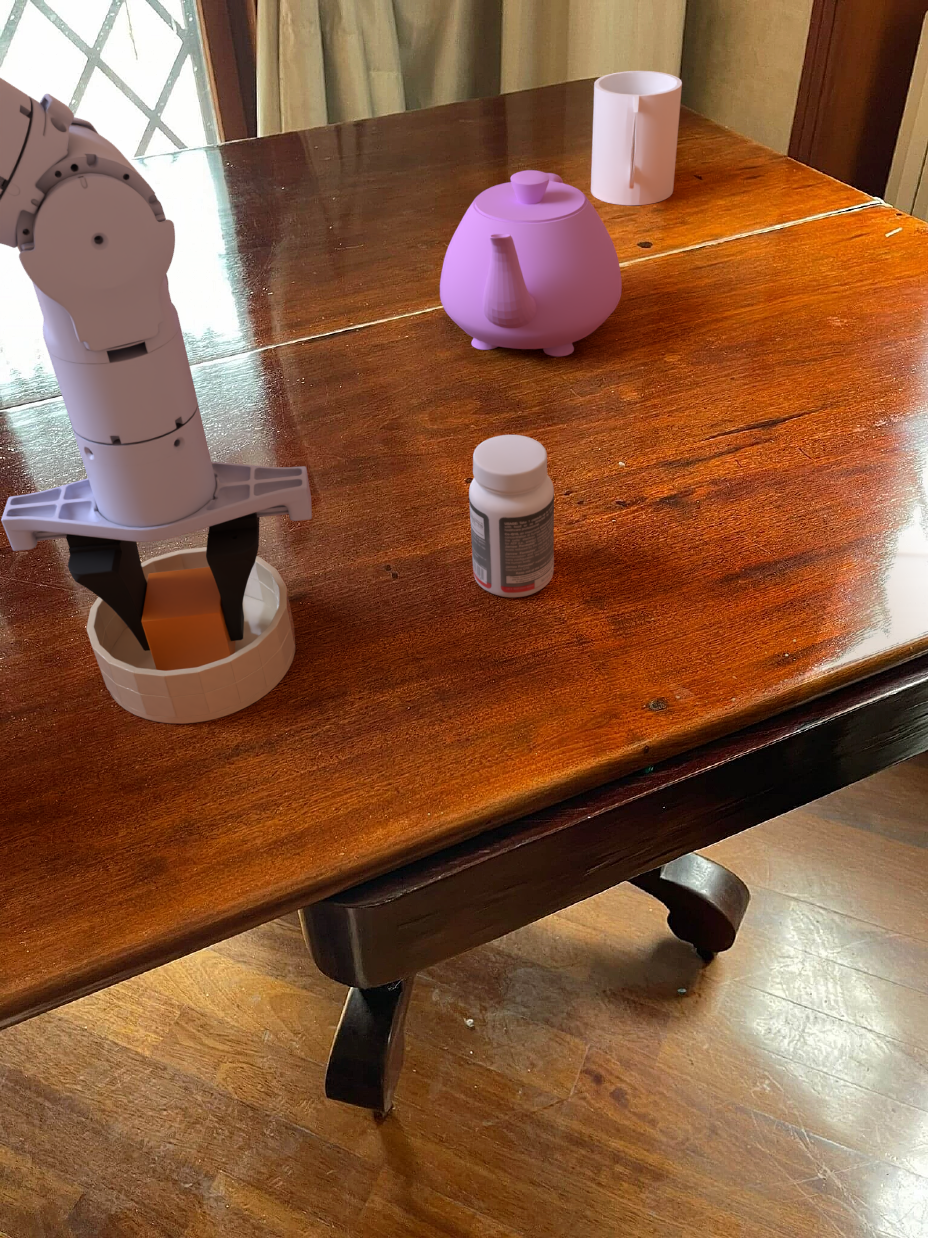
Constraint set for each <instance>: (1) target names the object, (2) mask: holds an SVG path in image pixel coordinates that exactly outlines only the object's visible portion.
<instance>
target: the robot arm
mask: <svg viewBox="0 0 928 1238" xmlns="http://www.w3.org/2000/svg"><path fill="white" fill-rule="evenodd" d="M0 244H1V245H4V246H7V247H10V248H12V249H16V248H17V249H18V251H19V254H18V258H19V259H18V260H19V261H20V264H21V266H22V268H23V270H24V271H25V274H26V275H27V276H28V278H29V279H30V280H31V282H32V286H33V289H34V292H35V295H36V298H37V302H38V304H39V307H40V311H41V314H42V318H43V324H42V335H43V340H44V343H45V346H46V349H47V352H48V356H49V359H50V361H51V364H52V368H53V372H54V374H55V378H56V381H57V384H58V387H59V390H60V394H61V396H62V399H63V402H64V403H63V404H64V406H65V408H66V412H67V416H68V419H69V422H70V425H71V429H72V431H73V434H74V435H73V436H74V438H75V442H76V445H77V447H78V450H79V455H80V456H81V460H82V464H83V465H84V470H85V472H86V476H87V478H83V479H79V480H77V481H73V482H70V483H66V484H62V485H59V486H56V487H52V488H49V489H45V490H41V491H37V492H32V493H26V494H20V495H13V496H9V497H8V498H7V500H6V504H5V507H4V509H3V513H2V516H1V519H0V521H1V523H2V526H3V529H4V531H5V533H6V534H5V535H6V536H7V539H8V541H9V544H10V546H11V549H12V551H13V552H18V551H29V550H34V549H35V548H36V547H37V545H38V542H39V541H42V542H43V541H50V540H58V539H66V542H67V545H68V553H69V558H68V561H67V562H68V563H67V569H68V571H69V572H70V573H69V574H70V575H71V577H72V579H73V580H74V582H75V583H76V584H79V585H80V586H82V587H83V588H86V589H87V590H88V591H90V592H92V593H93V594H94V595H95V596H97V598H98V597H100V598H101V599H102V600H103V601H104V602H105V603H107V604H108V605H109V606H110V607H111V608H112V609H113V610H114V611H115V612H116V613H117V614H118V616H119V617H120V618H121V619H122V620H123V621H124V623H125V624H126V625H127V626H128V628H129V629H130V630H131V632H132V633H133V634H134V636H135V637H136V639H137V640H138V642H139V643H140V645H141V646H142V648H143V650H145V651H150V647H149V644H148V641H147V638H146V635H145V631H144V628H143V625H142V622H141V621H142V615H143V608H144V601H145V595H146V588H147V581H146V579H145V576H144V573H143V569H142V565H141V563H142V562H141V557H140V553H139V549H138V543H151V542H159V541H160V542H161V541H165V540H170V539H174V538H177V537H182V536H184V535H187V534H190V533H194V532H197V531H200V530H203V529H206V528H208V533H207V540H206V547H207V550H206V558H207V562H208V565H209V567H210V569H211V571H212V574H213V576H214V579H215V582H216V584H217V587H218V590H219V594H220V597H221V600H222V605H223V612H224V618H225V624H226V627H227V631H228V634H229V637H230V640H231V641H238V640H242V639H243V634H244V612H243V598H244V593H245V589H246V585H247V582H248V578H249V576H250V573H251V570H252V568H253V566H254V564H255V560H256V556H258V552H259V546H260V519H261V518H266V517H275V516H286V515H288V516H289V520H290V521H292V522H299V521H300V522H301V521H309V520H312V518H313V515H312V514H313V509H312V495H311V494H312V493H311V487H310V482H309V476H308V469H307V466H305V465H303V466H302V465H301V466H291V467H290V466H283V467H282V466H279V467H277V466H266V465H265V466H263V465H255V464H253V465H252V464H244V463H233V462H222V461H221V462H220V461H212V459H211V455H210V449H209V445H208V441H207V437H206V432H205V427H204V423H203V420H202V416H201V411H200V406H199V401H198V397H197V392H196V388H195V383H194V380H193V375H192V370H191V365H190V362H189V358H188V353H187V348H186V343H185V339H184V335H183V331H182V330H183V329H182V326H181V321H180V317H179V313H178V310H177V308H176V306H175V305H174V303H173V302H172V298H171V294H170V289H169V278H168V275H167V273H168V271H169V270H170V268H171V264H172V261H173V257H174V253H175V246H176V230H175V223H174V222H173V221H172V220H171V219H167V218H166V214H165V211H164V209H163V205H162V203H161V201H160V200H159V199H158V197H157V195H156V192H155V191H154V189H153V188H152V187H151V185H150V184H149V183H148V181H146V179H145V178H144V177H143V176H142V175H141V174H140V172H139V171H138V170H137V169H136V168H135V167H134V166H133V164H132V163H131V162H130V161H129V160H128V159H127V158H126V156H125V155H124V154H123V152H121V151H120V150H119V149H118V147H117V146H115V144H113V143H112V142H111V141H110V140H108V139H107V138H105V137H104V136H103V135H101V134H100V133H99V132H98V131H97V129H96V128H95V127H94V125H93V124H92V123H91V122H90V121H88V120H86V119H82V118H78V117H75V114H74V113H73V110H71V108H70V107H69V106H68V105H67V104H65V103H63V102H62V101H61V100H59V99H57V98H56V97H54V96H53V95H51V94H50V93H45V94H44V95H43V96H42V98H41V100H40V102H39V101H38V100H36V99H34V98H33V97H32V96H30V95H28V94H27V93H25V92H24V91H22V90H21V89H19V88H17V87H16V86H14V85H13V84H11V83H9V82H8V81H6V80H5V79H3V78H2V77H0ZM137 542H138V543H137Z"/></svg>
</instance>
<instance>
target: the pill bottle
mask: <svg viewBox="0 0 928 1238" xmlns="http://www.w3.org/2000/svg"><path fill="white" fill-rule="evenodd" d="M547 453H548V452H547V449H546V447H545V446H544V445H543V444H542V443H541V442H540V441H538V440H536V439H534V438H532V437H529V436H525V435H521V434H502V435H496V436H493V437H490V438H487V439H485V440H483V441H482V442H481V443H479V444H477V446H476V447H475V448H474V451H473V454H472V474H473V479H472V480H471V482H470V485H469V489H468V503H469V518H470V520H469V521H470V522H469V523H470V536H471V538H470V539H471V556H472V572H473V577H474V579H475V582H476V584H478V586H479V587H480V588H482V589H483V590H484V591H486V592H488V593H490V594H493V595H495V596H499V597H503V598H511V599H513V598H514V599H515V598H523V597H528V596H531V595H533V594H535V593H537V592H539V591H541V590H542V589H544V588H545V587H547V585H548V584H549V583H550V582H551V581H552V578H553V576H554V570H555V569H554V568H555V557H554V556H555V489H554V483H553V481H552V478H551V477H550V475H548V454H547Z"/></svg>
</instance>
